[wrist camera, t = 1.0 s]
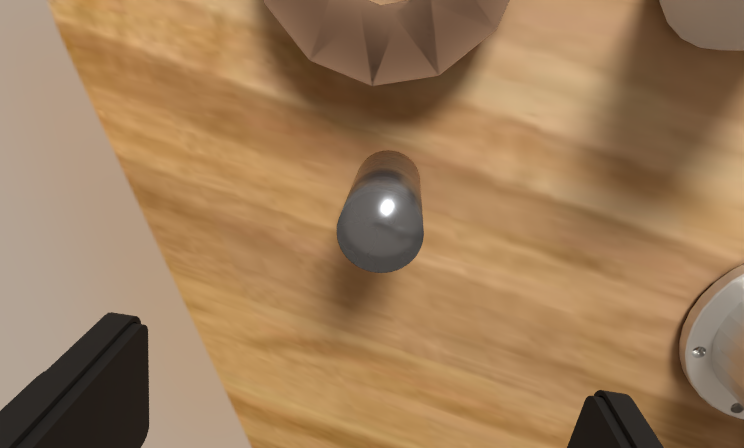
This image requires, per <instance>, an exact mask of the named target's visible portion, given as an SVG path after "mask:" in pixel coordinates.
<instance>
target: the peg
mask: <svg viewBox="0 0 744 448" xmlns="http://www.w3.org/2000/svg"><path fill="white" fill-rule="evenodd" d="M423 236H424V231H423V216H422V202H421V188H420V176H419V172H418V170H417V168H416V166H415V164H414V163H413V162H412V161H411V160H410V159H409V158H408V157H407V156H405V155H403V154H401V153H399V152H395V151H381V152H377V153H375V154H373V155H371V156H370V157H368V158H367V159H366V160H365V161H364V162H363V163H362V165H361V166H360V169H359V171H358V173H357V176H356V178H355V180H354V183H353V185H352V188H351V190H350V193H349V195H348V198H347V200H346V202H345V205H344V207H343V210H342V212H341V215H340V217H339V220H338V224H337V239H338V243H339V245H340V248H341V250H342V251H343V253H344V255H345V256H346V257H347V258H348V259H349V260H350V261H351V262H352V263H353V264H355V265H356V266H358V267H359V268H362V269H364V270H367V271H370V272H376V273H387V272H392V271H395V270H398V269H400V268H403V267H404V266H406V265H407V264H409V263H410V262H411V261H412V260H413V259H414V258H415V257H416V255H417V254H418V252H419V250H420V248H421V246H422V242H423Z"/></svg>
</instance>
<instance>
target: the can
mask: <svg viewBox="0 0 744 448" xmlns="http://www.w3.org/2000/svg"><path fill="white" fill-rule="evenodd" d="M660 4H661V7H662V10H663V13H664V15H665V18H666V21H667V23H668V24H669V25H670V26H671V28H672V29H673V30H674V31H675V32H676V33H677V34H678V35H679V37H680V38H681V39H683V40H685V41H687V42H689V43H691V44H693V45H695V46H697V47H699V48H705V49H715V50H733V51H744V0H660Z"/></svg>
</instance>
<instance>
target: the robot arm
mask: <svg viewBox="0 0 744 448" xmlns="http://www.w3.org/2000/svg"><path fill="white" fill-rule="evenodd" d="M679 357H680V361H681V365H682V369H683V372H684V374H685V376H686V377H687V379H688V381H689V383H690V384H691V385H692V387H693V388H694V389H695V390H696V391H697V393H698V394H699V395H700V397H702V398H703V399H704V400H705V401H706V402H707V403H708V404H710V405H711V406H712V407H714V408H716V409H717V410H719V411H721V412H723V413H725V414H727V415H730V416H733V417H736V418H739V419H742V420H744V264H743V265H741V266H739V267H737V268H735V269H733V270H731V271H730V272H728V273H727V274H726V275H724V276H723V277H721V278H720V279H719V280H717V281H716V282H715V283H714V284H713V285H712V286H711V287H710V288H709V289H708V290H707V291H706V292H704V293H703V294H702V295H701V297H700V298H699V299H698V301H697V302H696V304H695V305H694V306H693V308H692V309H691V311H690V313H689V315H688V317H687V319H686V321H685V323H684V325H683V328H682V333H681V337H680V341H679ZM148 377H149V376H148V329H147V326H146V325H142V324H141V321H140V319H139V318H138V317H137V316H131V315H124V314H118V313H108V314H106V315H105V316H104V317H103V318H102V319H101V320H100V321H98V322H97V323H96V324H95V325H94V326H93V327H92V328H91V329H90V330H89V331H88V332H87V333H86V334H85V335H84V336H82V338H80V339H79V340H78V341H77V342H76V343H75V344H74V345H73V346H72V347H71V348H70V349H69V350H68V351H67V352H66V353H64V354H63V355H62V356H61V357H60V358H59V359H58V360H57V361H56V362H55V363H54V364H53V365H52V366H51V367H50V368H49V369H47V370H46V371H45V372H43V373H41V374H40V375H39V376H37V377H36V378H35V379H34V380H33V381H32V382H31V383H30V384H29V385H28V386H26V388H24V389H23V390H22V391H21V392H20V393H19V394H18V395H17V396H16V397H15V398H14V399H13V400H12V401H11V402H10V403H8V405H6V406H5V407H4V408H3V409H2V410H1V411H0V448H141V446H142V445H143V443H144V441H145V438H146V436H147V433H148V429H149V379H148ZM567 448H664V447H663V446H662V444H661V443H660V441H659V440H658V438H657V437H656V435H655V433H654V432H653V430H652V429H651V427H650V426H649V424H648V423H647V421H646V420H645V418H644V417H643V415H642V413H641V412H640V410H639V409H638V407H637V406H636V404H635V403H634V401H633V400H632V398H631V397H630V396H629V395H627V394H622V393H616V392H609V391H603V390H599V391H597V392H596V393H595V394H594V396H588V397H587V398H586V400H585V402H584V405H583V407H582V410H581V413H580V415H579V418H578V420H577V423H576V426H575V428H574V431H573V433H572V436H571V439H570V441H569V444H568V447H567Z"/></svg>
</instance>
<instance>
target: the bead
mask: <svg viewBox="0 0 744 448" xmlns="http://www.w3.org/2000/svg"><path fill="white" fill-rule="evenodd" d="M508 3H509V0H408V1H403V2H397V3H391V4H385V5H379V4H376V3H374V2H371V1H369V0H264V4H265V5H266V6H267V8H268V9H269V10H270V11H271V13H272V14H273V15H274V16H275V18H276V19H277V20H278V21H279V23H280V24H281V25H282V26H283V28H284V29H285V30H286V31H287V33H288V34H289V35H290V36H291V38H292V39H293V40H294V41H295V43H296V44H297V45H298V47H299V48H300V49H301V50H302V52H303V53H304V54H305V55H306V57H307V58H308V59H309V60H310V61H312V62H314V63H317V64H319V65H322V66H324V67H327V68H329V69H332V70H334V71H337V72H339V73H341V74H344V75H346V76H349V77H351V78H354V79H356V80H359V81H361V82H363V83H366V84H368V85H371V86H376V85H382V84H389V83H395V82H401V81H408V80H414V79H421V78H427V77H434V76H439V75H440V74H442V73H443V72H444V71H445V70H447V69H448V68H449V67H450V66H452V65H453V64H454V63H455V62H457V61H458V60H459V59H461V58H462V57H463V56H464V55H466V54H467V53H468V52H469V51H471V50H472V49H473V48H474V47H476V46H477V45H478V44H479V43H481V42H482V41H483V40H484V39H486V38H487V37H488V36H489V35H491V34H492V33H493V32H494V31H496V29H497V27H498V25H499V23H500V20H501V18H502V16H503V14H504V11H505V9H506V7H507V5H508Z"/></svg>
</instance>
